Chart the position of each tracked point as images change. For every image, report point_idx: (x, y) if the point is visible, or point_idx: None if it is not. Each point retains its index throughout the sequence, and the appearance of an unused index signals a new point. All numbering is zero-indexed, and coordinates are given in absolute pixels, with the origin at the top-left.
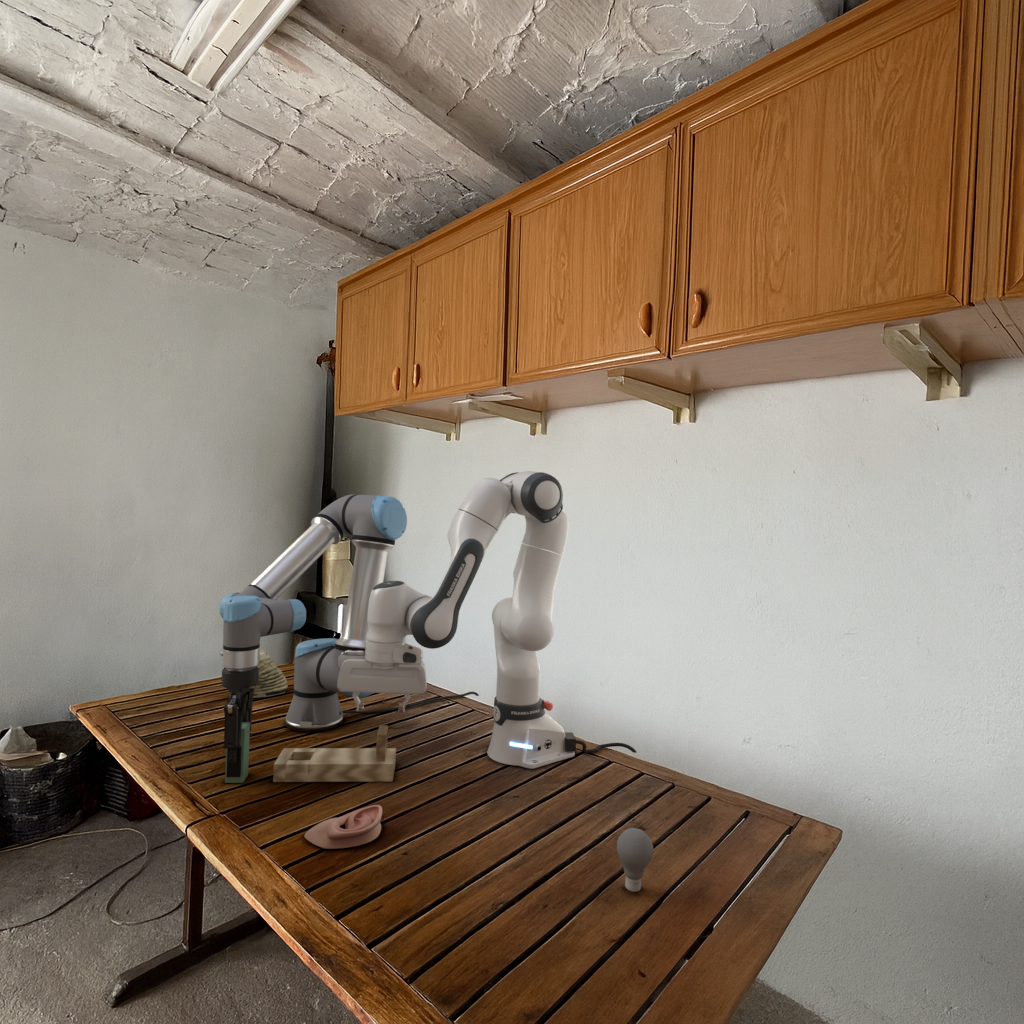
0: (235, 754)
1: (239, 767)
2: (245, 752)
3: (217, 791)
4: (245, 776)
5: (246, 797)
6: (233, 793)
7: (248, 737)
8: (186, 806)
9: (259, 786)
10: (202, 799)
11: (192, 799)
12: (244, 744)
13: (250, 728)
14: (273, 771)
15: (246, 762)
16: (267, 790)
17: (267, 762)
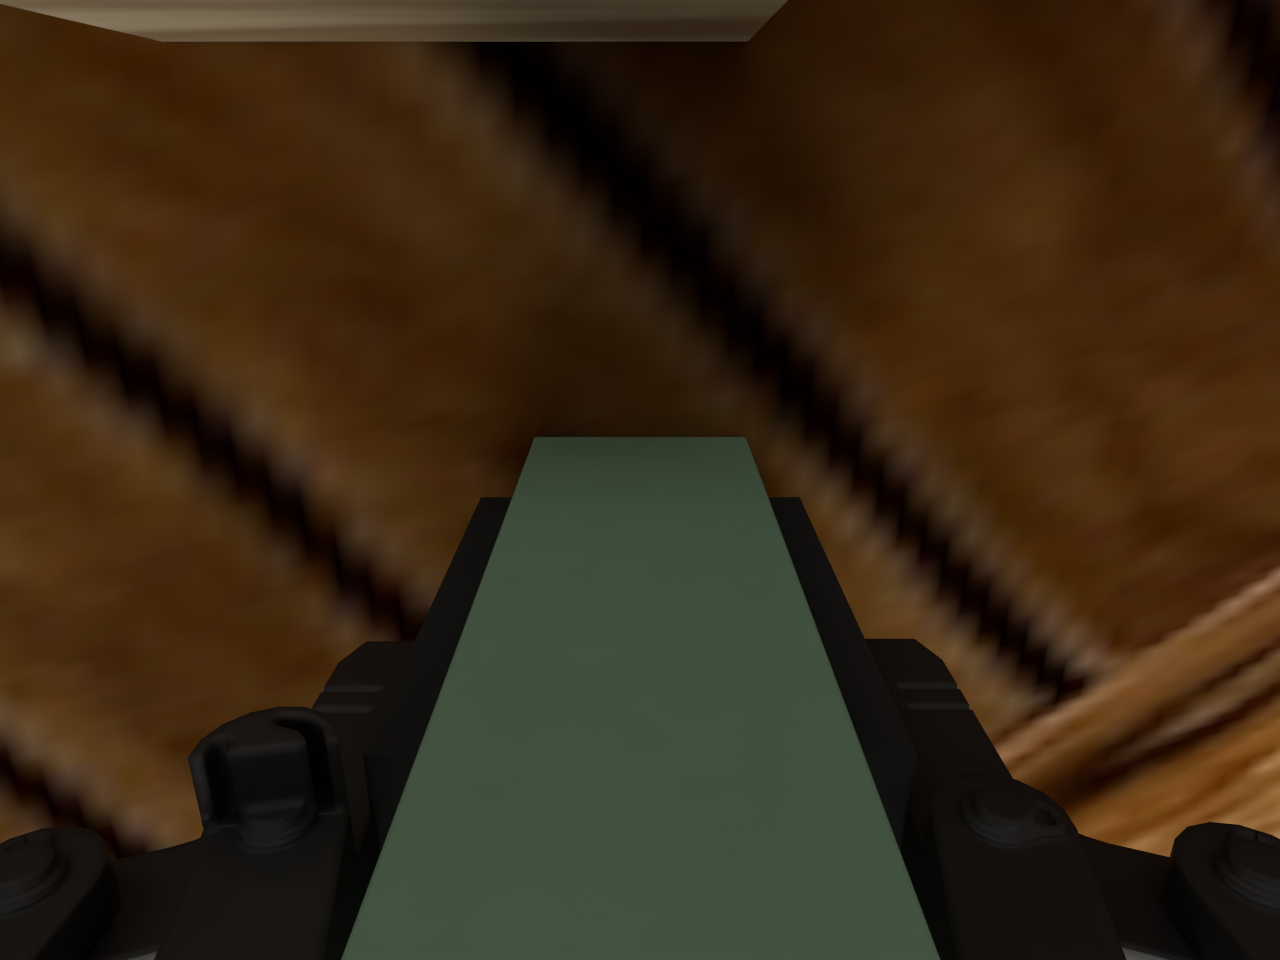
0: (987, 741)
1: (821, 557)
2: (709, 606)
3: (940, 630)
4: (644, 446)
5: (1157, 277)
6: (1017, 457)
7: (509, 761)
8: (1225, 787)
9: (863, 201)
10: (1104, 706)
11: (1085, 785)
12: (838, 726)
13: (29, 887)
14: (770, 17)
15: (619, 514)
16: (1000, 52)
17: (116, 302)
